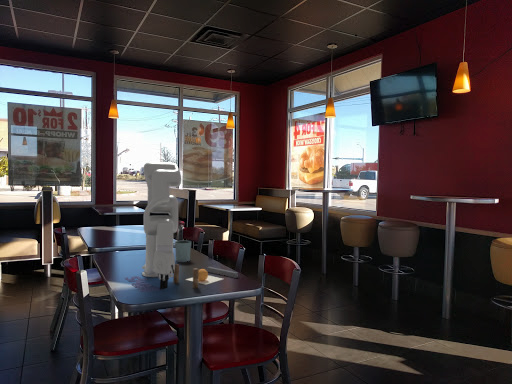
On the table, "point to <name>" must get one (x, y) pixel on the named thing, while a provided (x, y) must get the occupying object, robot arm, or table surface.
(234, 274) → the wall
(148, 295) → the table surface
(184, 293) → the table surface
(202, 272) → the ball
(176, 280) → the left post
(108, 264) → the table surface
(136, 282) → the signage
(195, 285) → the right post
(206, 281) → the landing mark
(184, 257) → the pale green bucket
